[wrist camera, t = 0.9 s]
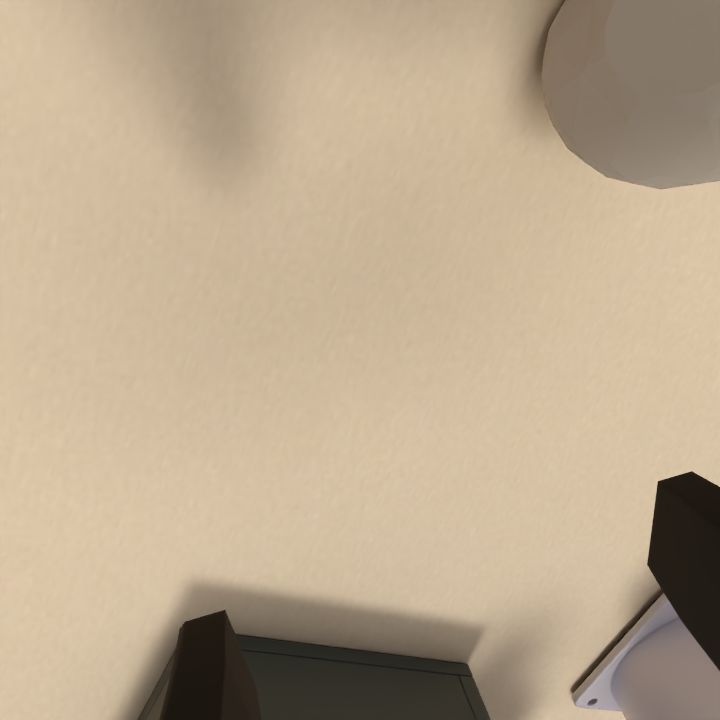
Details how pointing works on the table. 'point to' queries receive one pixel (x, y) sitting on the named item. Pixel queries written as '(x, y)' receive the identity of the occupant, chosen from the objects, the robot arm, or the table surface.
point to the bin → (347, 685)
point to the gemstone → (637, 88)
